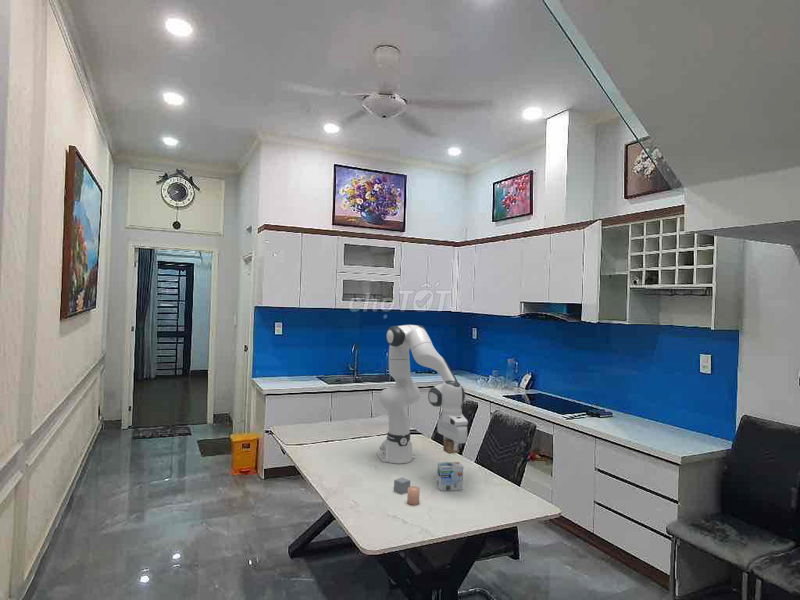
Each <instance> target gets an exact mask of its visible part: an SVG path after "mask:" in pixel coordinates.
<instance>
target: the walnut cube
mask: <svg viewBox="0 0 800 600" xmlns="http://www.w3.org/2000/svg"><path fill="white" fill-rule="evenodd" d="M453 445H454V441H453V440H451V439H445V440H444V439H443V447H442V448H443V449H442V450H443V451H444V452H445V453H447V454H449V455H450V454H458V453H459V451H460V443H459V444H458V446H457V450H455V451H454V450H453V449H452V446H453Z"/></svg>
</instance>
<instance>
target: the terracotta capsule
mask: <svg viewBox="0 0 800 600" xmlns="http://www.w3.org/2000/svg"><path fill="white" fill-rule="evenodd" d="M420 488H421V487H419V486H415V485H412V486H411V485H410V487H408V492H407V497H406V498H407V500H406V501H407V502H406V503H407V504H408V505H409V506H418V505H419V504H420V493H421V492H420V491H421V489H420Z"/></svg>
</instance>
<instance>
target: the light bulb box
mask: <svg viewBox="0 0 800 600" xmlns="http://www.w3.org/2000/svg"><path fill="white" fill-rule="evenodd" d="M436 472H437V473H436V486H437V488H438V490H439V491H441V492H444V491H445V492H446V491H463V488H464V486H463V484H464V483H463V482H464V465H463V464H462V463H461V462H460V461H444V462H437V469H436Z"/></svg>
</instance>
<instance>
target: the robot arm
mask: <svg viewBox="0 0 800 600" xmlns="http://www.w3.org/2000/svg"><path fill="white" fill-rule="evenodd" d="M385 335H386V336H385V338H386V342H387V343H388V345H389V347H388V372H389V373H388V374H389V376H390V377H392V378H393V379H394V381H395V385H394V386H389V387H386V388H384V389H382V390H381V391H380V394H379V402H380V404H381V407H383V408H384V409H385V411H386V412H387V416H388V431H387V433H386V434H387V435H386V439H385V440H384V441H382V443H381V445H380V446H379V450H377V451H376V454H377V456H378V457H379V459H380V461H381V463H382V462H383V463H390V464H391V463H392V464H407V463H410V462H412V460H413V459H415V455H413V454H414V453H413V443H412V441H411V432H410V430H411V429H410V428H411V419H410V416H409V415H408V414H406V412H405V407H406V406H412V405H413V404H415V403H417V402H418V401H419V400H420V397H421V391H420V389H419V386H417V385H416V384H415V383H414V381H413V378H412V374H411V364H410V363H411V361H410V360H411V359H410V352H411V354H412V357H413V359H414V361H415V362H416V364H418V365H420V366H422V367H425V368H430V369H432V370H434V371H436V372H437V373H439V375H440V377H441V379H442V381H443V383H442V384H439V385H435V386H432V387H431V388H429V391H428V394H427V395H428V397H427V398H428V402H429V403H430V405H431V406H433V407H437V408H442V410H441V414H440V415H439V418H438V421H437V428H436V430H437V433H438V434H440V435H442V436H443V441H444V440H445V439H451V440H453V441H454V445H453V446H452V449H453V450H454V451H455V450H457V446H458V444H459V445H460V444H466V443H467V441H468V427H467V426H468V424H469V421H468V419H467V418H466V417H465V416H464V414H463V409H462V404H463V403H464V401H465V399H466V392H465V389H464V388H463V386H462V385H461V383H459V381H458V379H457V377H456V376H455V374H454V373H453V371H452V369H451V368H450V366H449V364H448V362H447V360H446V359H445V358H444V357H443V356H442V355H440V354H439V352H438V351H437V350H436V348H435V347H434V345H433V342H432V340H431V338H430V336H429V334H428V331H427V329H426V328H425V327H424V326H423V325H421V324H403V325H394V326H390V327H389V328H388V329H387V331H386V334H385Z"/></svg>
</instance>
